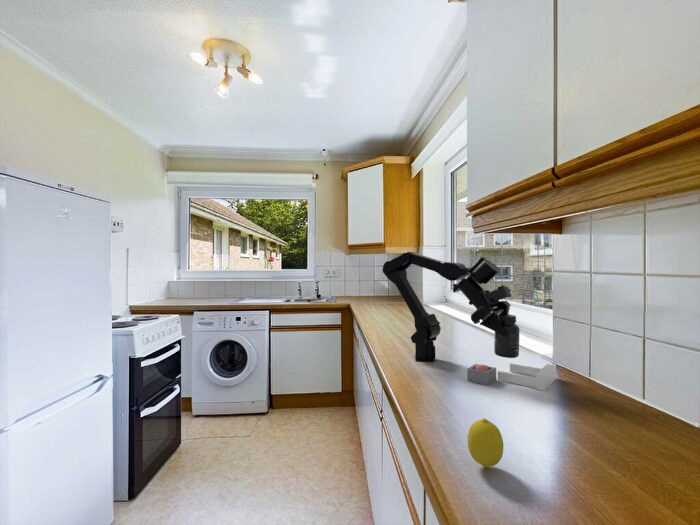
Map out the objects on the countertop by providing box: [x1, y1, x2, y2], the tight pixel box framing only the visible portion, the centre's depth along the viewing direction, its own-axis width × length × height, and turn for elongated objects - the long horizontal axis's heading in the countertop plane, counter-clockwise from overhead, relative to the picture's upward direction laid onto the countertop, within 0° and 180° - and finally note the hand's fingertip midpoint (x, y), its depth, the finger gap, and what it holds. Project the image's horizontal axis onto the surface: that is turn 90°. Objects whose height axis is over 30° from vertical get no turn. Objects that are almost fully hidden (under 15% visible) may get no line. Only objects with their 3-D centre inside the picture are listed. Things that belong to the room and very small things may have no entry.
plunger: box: [474, 363, 488, 371], centre depth 98 cm, size 4×4×4 cm
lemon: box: [466, 417, 504, 469], centre depth 56 cm, size 6×6×8 cm
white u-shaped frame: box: [497, 362, 557, 391], centre depth 99 cm, size 12×13×4 cm
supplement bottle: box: [493, 313, 520, 359], centre depth 102 cm, size 7×7×12 cm
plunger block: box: [466, 363, 497, 386], centre depth 98 cm, size 6×6×4 cm
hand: (511, 333), depth 101 cm, fingers closed on supplement bottle, 7 cm apart
